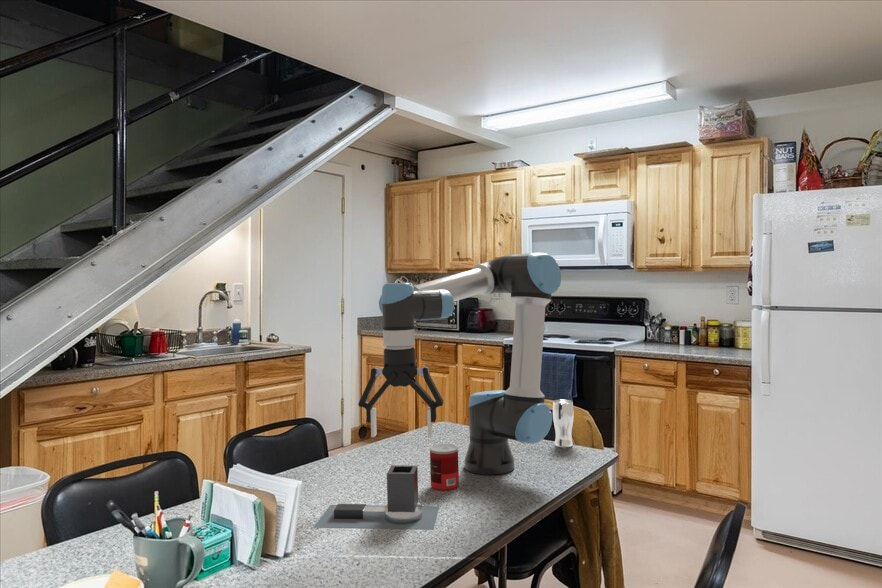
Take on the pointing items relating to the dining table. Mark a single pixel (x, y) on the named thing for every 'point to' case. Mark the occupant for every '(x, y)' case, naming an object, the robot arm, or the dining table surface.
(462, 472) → the dining table surface
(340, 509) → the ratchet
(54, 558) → the dining table surface
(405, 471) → the open square tube
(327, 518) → the mat
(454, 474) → the canned food
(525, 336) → the robot arm
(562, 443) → the beer glass
